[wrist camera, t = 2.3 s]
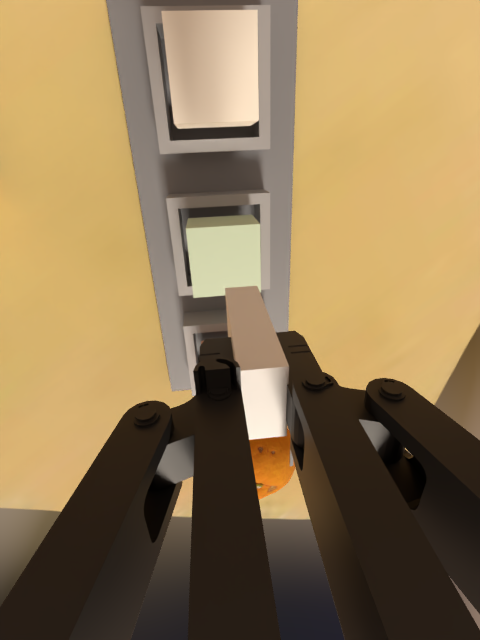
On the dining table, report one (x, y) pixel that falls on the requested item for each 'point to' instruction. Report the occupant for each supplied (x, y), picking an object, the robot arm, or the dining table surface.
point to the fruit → (271, 463)
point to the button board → (207, 168)
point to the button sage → (223, 253)
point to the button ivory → (212, 67)
